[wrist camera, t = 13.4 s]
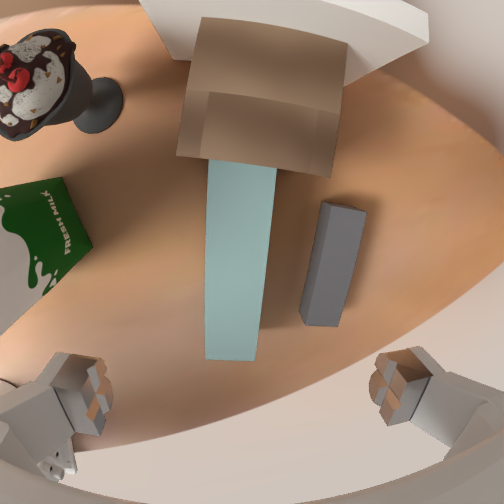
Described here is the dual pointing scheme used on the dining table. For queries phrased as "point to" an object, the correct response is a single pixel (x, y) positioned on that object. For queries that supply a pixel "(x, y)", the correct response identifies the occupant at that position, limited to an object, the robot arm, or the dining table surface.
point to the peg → (236, 256)
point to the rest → (331, 264)
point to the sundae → (51, 88)
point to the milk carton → (36, 244)
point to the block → (263, 96)
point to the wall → (303, 25)
